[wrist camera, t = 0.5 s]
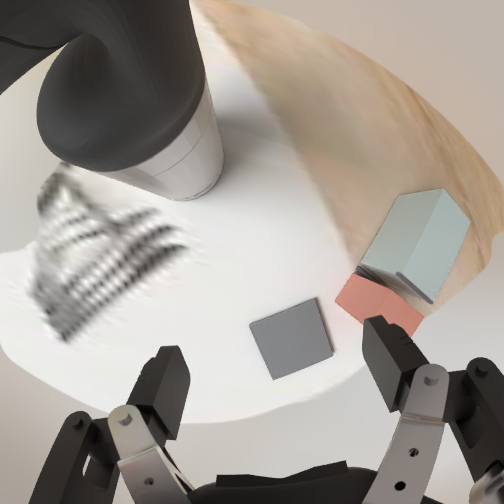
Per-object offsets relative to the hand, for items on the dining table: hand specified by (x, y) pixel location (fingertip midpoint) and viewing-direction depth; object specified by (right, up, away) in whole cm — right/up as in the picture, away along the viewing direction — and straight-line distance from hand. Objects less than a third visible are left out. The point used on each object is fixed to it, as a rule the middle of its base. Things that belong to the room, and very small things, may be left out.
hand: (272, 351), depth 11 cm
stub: (+12, -1, +20) cm, 24 cm away
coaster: (+4, -6, +20) cm, 21 cm away
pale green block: (+17, +6, +19) cm, 26 cm away
